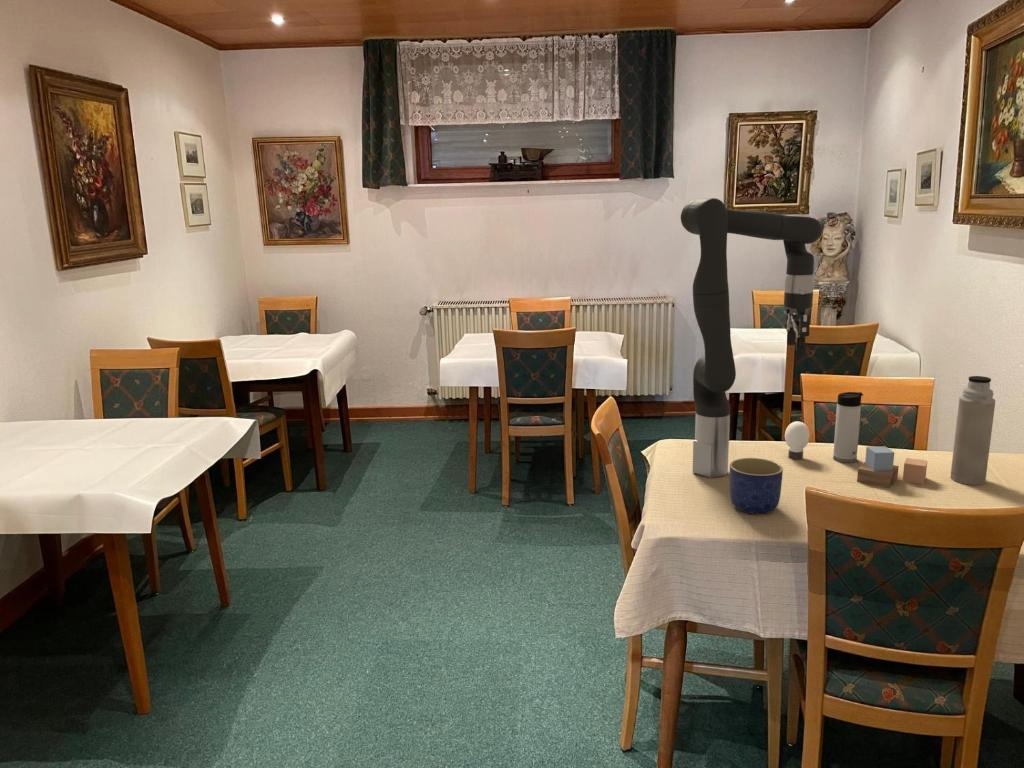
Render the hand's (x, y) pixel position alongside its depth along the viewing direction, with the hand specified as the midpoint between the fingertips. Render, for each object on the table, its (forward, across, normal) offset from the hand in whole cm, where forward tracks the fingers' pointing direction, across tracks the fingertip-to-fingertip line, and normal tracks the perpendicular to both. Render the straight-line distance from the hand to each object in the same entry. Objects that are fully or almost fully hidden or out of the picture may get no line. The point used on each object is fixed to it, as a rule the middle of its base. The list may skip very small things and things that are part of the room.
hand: (795, 347), depth 209 cm
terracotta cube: (+33, +18, +28) cm, 47 cm away
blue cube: (+30, +18, +18) cm, 39 cm away
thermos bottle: (+33, +18, +41) cm, 56 cm away
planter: (+33, +36, -19) cm, 53 cm away
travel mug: (+33, +1, +16) cm, 37 cm away
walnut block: (+34, +18, +18) cm, 42 cm away
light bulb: (+33, -1, +2) cm, 33 cm away
